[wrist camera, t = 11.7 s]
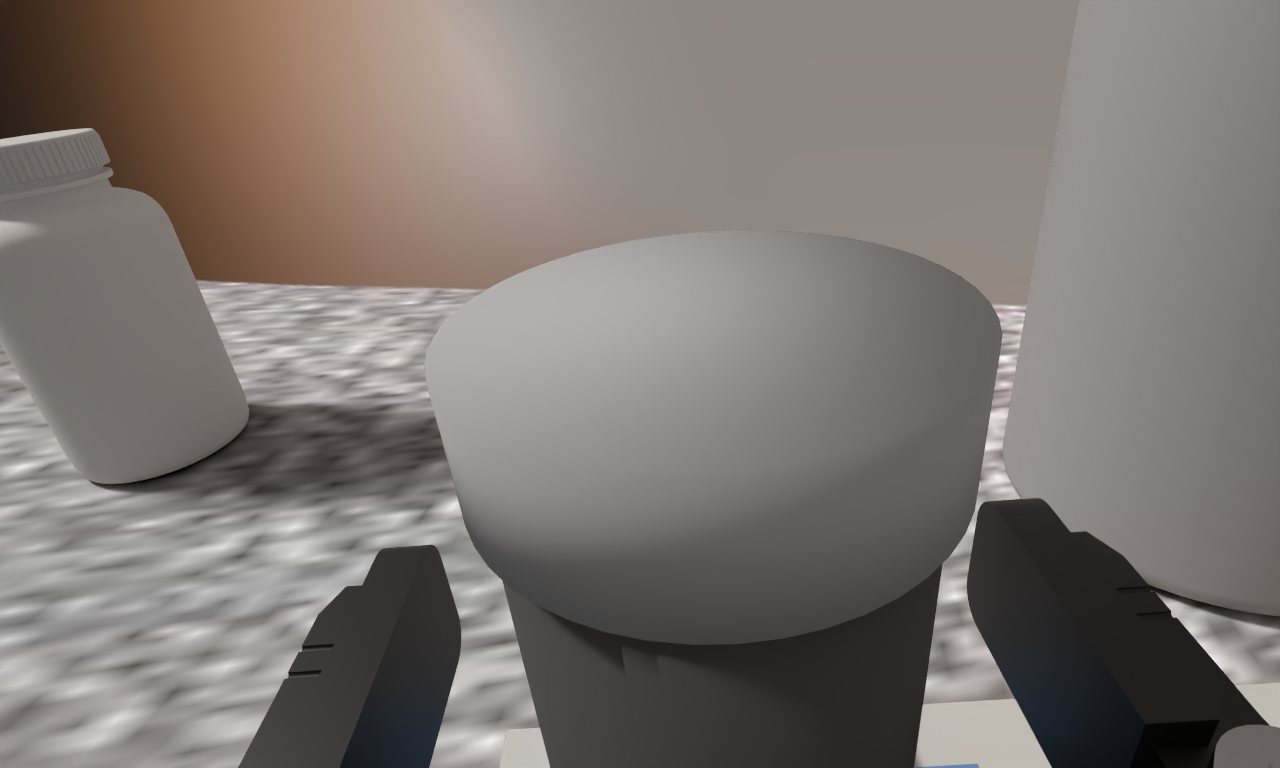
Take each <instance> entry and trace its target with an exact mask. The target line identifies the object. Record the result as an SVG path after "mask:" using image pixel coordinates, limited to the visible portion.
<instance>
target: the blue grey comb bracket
mask: <svg viewBox="0 0 1280 768" xmlns="http://www.w3.org/2000/svg"><path fill="white" fill-rule="evenodd" d="M1235 686H1236V687H1237V689H1238V690H1239V691H1240V692H1241V693H1242V694H1243V696H1244V697H1245V698H1246V699H1247V700H1248V701H1249V703H1250V704H1251V705H1252V706H1253V707H1254V708H1255V710H1256V711H1257V712H1258V713H1259V714H1260V715H1261V717H1262V718H1263V719H1264V720H1265V721H1266V722H1267V723H1268V724H1269V725H1270V726H1274V727H1279V728H1280V683H1266V684H1249V685H1235ZM499 768H550V765H549V761H548V757H547V753H546V749H545V745H544V741H543V737H542V733H541V730H540V728H529V729H513V730H506V735H505V740H504V746H503V751H502V756H501V762H500V767H499ZM914 768H1052V767H1051V765H1050V764H1049V762H1048V760H1047V758H1046V756H1045V754H1044V752H1043V750H1042V748H1041V747H1040V745H1039V743H1038V741H1037V739H1036V737H1035V735H1034V733H1033V731H1032V730H1031V728H1030V726H1029V724H1028V722H1027V720H1026V718H1025V716H1024V714H1023V713H1022V711H1021V709H1020V707H1019V705H1018V703H1017V701H1016V699H1004V700H987V701H971V702H955V703H938V704H923V707H922V714H921V721H920V728H919V736H918V743H917V750H916V757H915V764H914Z"/></svg>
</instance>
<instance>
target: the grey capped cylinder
mask: <svg viewBox="0 0 1280 768" xmlns="http://www.w3.org/2000/svg"><path fill="white" fill-rule="evenodd" d="M1001 341H1002V331H1001V326H1000V321H999V317H998V316H997V314H996V312H995V310H994V309H993V307H992V305H991V303H990V302H989V301H988V300H987V299H986V298H985V297H984V296H983V294H982V293H981V292H980V291H979V290H978V289H977V288H976V287H974V286H973V285H972V284H970V283H969V282H967V281H966V280H965V279H964V278H962V277H961V276H959V275H957V274H955V273H954V272H952V271H950V270H948V269H946V268H945V267H943V266H941V265H939V264H936V263H934V262H931V261H929V260H927V259H925V258H922V257H920V256H917V255H914V254H911V253H908V252H905V251H901V250H898V249H895V248H891V247H887V246H883V245H879V244H875V243H871V242H866V241H861V240H855V239H850V238H845V237H837V236H830V235H823V234H812V233H802V232H788V231H754V230H753V231H752V230H751V231H749V230H747V231H746V230H745V231H744V230H743V231H742V230H739V231H713V232H699V233H685V234H676V235H668V236H659V237H652V238H646V239H640V240H633V241H628V242H623V243H618V244H613V245H608V246H604V247H600V248H596V249H591V250H587V251H583V252H580V253H576V254H573V255H569V256H566V257H563V258H559V259H556V260H553V261H550V262H548V263H545V264H542V265H539V266H536V267H534V268H531V269H529V270H527V271H524V272H522V273H519V274H517V275H514V276H512V277H510V278H508V279H506V280H504V281H502V282H500V283H498V284H496V285H494V286H492V287H491V288H489V289H487V290H486V291H484V292H482V293H481V294H479V295H477V296H476V297H474V298H473V299H471V300H470V301H469V302H467V303H466V304H465V305H463V306H462V307H461V308H459V309H458V310H457V311H456V312H455V313H454V314H453V315H452V316H451V317H450V318H449V319H448V320H447V321H445V322H444V324H443V325H442V326H441V328H440V329H439V330H438V332H437V333H436V334H435V336H434V337H433V339H432V342H431V344H430V346H429V348H428V350H427V353H426V359H425V365H424V370H425V377H426V384H427V387H428V391H429V395H430V398H431V402H432V406H433V409H434V413H435V417H436V420H437V424H438V428H439V431H440V435H441V438H442V442H443V446H444V449H445V453H446V457H447V460H448V464H449V468H450V471H451V475H452V479H453V482H454V486H455V489H456V493H457V497H458V500H459V504H460V508H461V511H462V515H463V519H464V522H465V526H466V528H467V531H468V533H469V535H470V538H471V540H472V542H473V545H474V547H475V548H476V550H477V551H478V553H479V554H480V555H481V557H482V558H483V560H484V561H485V562H486V564H487V565H488V567H489V568H490V569H491V570H492V571H493V572H494V573H496V574H497V575H498V576H499V577H500V578H501V579H502V580H503V584H504V588H505V592H506V596H507V600H508V604H509V608H510V612H511V616H512V620H513V623H514V627H515V631H516V635H517V639H518V643H519V647H520V651H521V655H522V659H523V663H524V667H525V671H526V675H527V678H528V682H529V686H530V690H531V694H532V698H533V702H534V706H535V710H536V714H537V718H538V722H539V726H540V730H541V733H542V737H543V741H544V745H545V749H546V753H547V757H548V761H549V765H550V768H914V764H915V757H916V750H917V743H918V736H919V728H920V721H921V714H922V707H923V700H924V692H925V685H926V678H927V671H928V663H929V656H930V649H931V642H932V635H933V627H934V620H935V613H936V606H937V599H938V591H939V584H940V577H941V570H942V563H943V562H944V561H945V560H946V559H947V558H948V557H949V556H950V555H951V554H952V552H953V551H954V549H955V548H956V546H957V545H958V543H959V542H960V541H961V539H962V538H963V536H964V535H965V533H966V531H967V528H968V526H969V523H970V521H971V518H972V516H973V513H974V511H975V505H976V499H977V493H978V487H979V480H980V474H981V468H982V462H983V455H984V449H985V443H986V437H987V430H988V424H989V418H990V412H991V405H992V399H993V393H994V387H995V380H996V374H997V368H998V362H999V355H1000V348H1001Z"/></svg>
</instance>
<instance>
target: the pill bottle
mask: <svg viewBox="0 0 1280 768" xmlns="http://www.w3.org/2000/svg"><path fill="white" fill-rule="evenodd" d="M108 162H110V159H109V157H108V155H107V153H106V150H105V148H104V145H103V143H102V141H101V139H100V136H99V134H98V133H96V132H95V130H93V129H90V128H88V129H73V130H64V131H56V132H48V133H40V134H33V135H26V136H19V137H13V138H7V139H0V344H1V346H2V348H3V349H4V351H5V353H6V354H7V356H8V358H9V360H10V361H11V363H12V365H13V366H14V368H15V370H16V371H17V373H18V375H19V376H20V378H21V380H22V381H23V383H24V385H25V387H26V388H27V390H28V392H29V393H30V395H31V397H32V398H33V400H34V402H35V403H36V405H37V407H38V408H39V410H40V412H41V414H42V415H43V417H44V419H45V420H46V422H47V424H48V425H49V427H50V429H51V430H52V432H53V434H54V435H55V437H56V439H57V440H58V442H59V444H60V446H61V447H62V449H63V451H64V452H65V454H66V456H67V457H68V459H69V461H70V462H71V463H72V464H73V466H74V467H75V468H76V470H77V471H78V472H79V473H80V474H81V475H82V476H83V477H85V478H86V479H88V480H90V481H93V482H96V483H102V484H121V483H130V482H136V481H141V480H145V479H150V478H153V477H157V476H161V475H164V474H167V473H170V472H173V471H175V470H178V469H181V468H183V467H186V466H188V465H190V464H193V463H195V462H197V461H199V460H201V459H203V458H205V457H207V456H209V455H210V454H212V453H214V452H216V451H217V450H219V449H220V448H222V447H223V446H225V445H226V444H228V443H229V442H230V441H231V440H233V439H234V438H235V437H236V436H237V435H238V434H239V433H240V432H241V431H242V430H243V429H244V427H245V426H246V424H247V422H248V418H249V407H248V404H247V401H246V397H245V394H244V392H243V389H242V387H241V385H240V382H239V380H238V378H237V375H236V373H235V371H234V369H233V366H232V364H231V362H230V359H229V357H228V355H227V352H226V350H225V348H224V345H223V343H222V341H221V338H220V336H219V334H218V331H217V329H216V327H215V324H214V322H213V320H212V317H211V315H210V313H209V310H208V308H207V306H206V303H205V301H204V299H203V296H202V294H201V292H200V289H199V287H198V285H197V282H196V280H195V278H194V275H193V273H192V271H191V268H190V266H189V264H188V262H187V259H186V257H185V254H184V252H183V250H182V248H181V245H180V243H179V240H178V238H177V236H176V233H175V232H174V229H173V226H172V224H171V222H170V220H169V218H168V216H167V214H166V212H164V210H163V209H162V208H161V206H160V205H159V204H158V203H157V202H156V201H155V200H154V199H152V198H151V197H149V196H148V195H146V194H144V193H141V192H138V191H135V190H131V189H126V188H117V187H112V186H111V185H110V183H109V180H108V177H110V176H112V175H113V172H112V169H111V168H108V167H102V166H103V165H105V164H107V163H108Z"/></svg>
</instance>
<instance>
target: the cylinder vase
mask: <svg viewBox="0 0 1280 768" xmlns="http://www.w3.org/2000/svg"><path fill="white" fill-rule="evenodd" d="M1003 460H1004V465H1005V468H1006V472H1007V474H1008V477H1009V479H1010V481H1011V483H1012V485H1013V487H1014V489H1015V490H1016V492H1017V494H1018V495H1019V497H1020V498H1021V499H1029V498H1040V499H1043V500H1044V501H1045V502H1047V503H1048V505H1049V506H1050V507H1051V508H1052V509H1053V511H1054V512H1055V513H1056V514H1057V516H1058V517H1059V518H1060V519H1061V521H1062V522H1063V523H1064V524H1065V526H1066V527H1067V528H1068V529H1069V531H1070V532H1082V531H1087V532H1088V533H1090V534H1091V535H1093V536H1094V537H1096V538H1097V539H1099V540H1100V541H1102V542H1103V543H1105V544H1106V545H1108V546H1109V547H1111V548H1113V549H1114V550H1116V551H1117V552H1119V553H1120V554H1122V555H1123V556H1124V557H1125V558H1126V559H1127V560H1128V562H1129V563H1130V564H1131V565H1132V566H1133V567H1134V569H1135V570H1136V571H1137V572H1138V573H1139V574H1140V576H1141V577H1142V578H1143V579H1144V580H1145V581H1146V583H1147V584H1149V585H1151V586H1154V587H1156V588H1159V589H1162V590H1165V591H1168V592H1170V593H1173V594H1176V595H1180V596H1183V597H1186V598H1189V599H1193V600H1196V601H1200V602H1204V603H1208V604H1212V605H1216V606H1220V607H1224V608H1229V609H1234V610H1239V611H1245V612H1250V613H1257V614H1264V615H1272V616H1280V0H1080V1H1079V7H1078V12H1077V18H1076V24H1075V30H1074V36H1073V41H1072V47H1071V53H1070V59H1069V64H1068V70H1067V76H1066V82H1065V88H1064V93H1063V99H1062V105H1061V112H1060V117H1059V122H1058V128H1057V135H1056V140H1055V146H1054V151H1053V157H1052V163H1051V169H1050V175H1049V180H1048V186H1047V192H1046V198H1045V203H1044V209H1043V215H1042V221H1041V227H1040V232H1039V238H1038V244H1037V250H1036V256H1035V261H1034V267H1033V273H1032V279H1031V284H1030V291H1029V296H1028V302H1027V308H1026V313H1025V319H1024V325H1023V331H1022V337H1021V342H1020V348H1019V354H1018V360H1017V365H1016V371H1015V377H1014V383H1013V389H1012V394H1011V400H1010V406H1009V412H1008V418H1007V423H1006V429H1005V435H1004V441H1003Z"/></svg>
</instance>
